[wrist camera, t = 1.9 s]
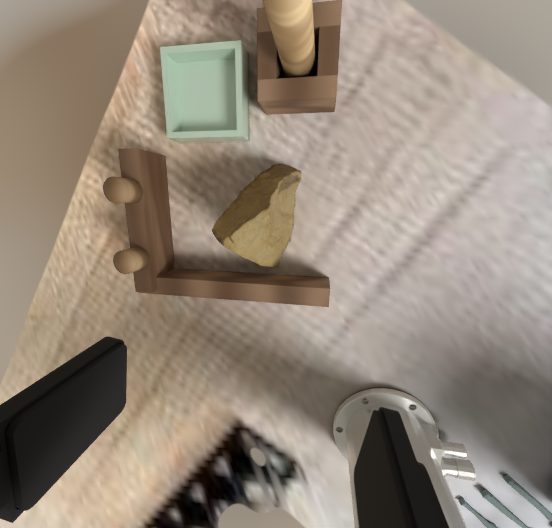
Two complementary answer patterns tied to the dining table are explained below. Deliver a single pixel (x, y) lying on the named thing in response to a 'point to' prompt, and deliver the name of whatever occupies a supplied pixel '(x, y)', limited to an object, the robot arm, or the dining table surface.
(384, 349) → the dining table surface
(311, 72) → the dowel
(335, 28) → the holder
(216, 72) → the tray
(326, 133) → the dining table surface
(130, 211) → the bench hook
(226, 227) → the rock
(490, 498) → the cutlery set
